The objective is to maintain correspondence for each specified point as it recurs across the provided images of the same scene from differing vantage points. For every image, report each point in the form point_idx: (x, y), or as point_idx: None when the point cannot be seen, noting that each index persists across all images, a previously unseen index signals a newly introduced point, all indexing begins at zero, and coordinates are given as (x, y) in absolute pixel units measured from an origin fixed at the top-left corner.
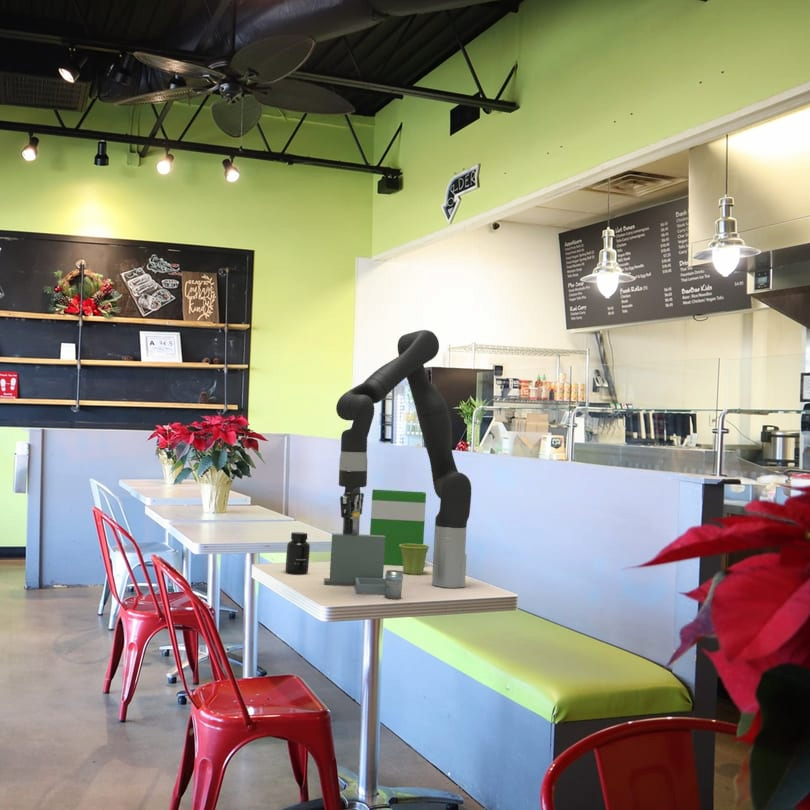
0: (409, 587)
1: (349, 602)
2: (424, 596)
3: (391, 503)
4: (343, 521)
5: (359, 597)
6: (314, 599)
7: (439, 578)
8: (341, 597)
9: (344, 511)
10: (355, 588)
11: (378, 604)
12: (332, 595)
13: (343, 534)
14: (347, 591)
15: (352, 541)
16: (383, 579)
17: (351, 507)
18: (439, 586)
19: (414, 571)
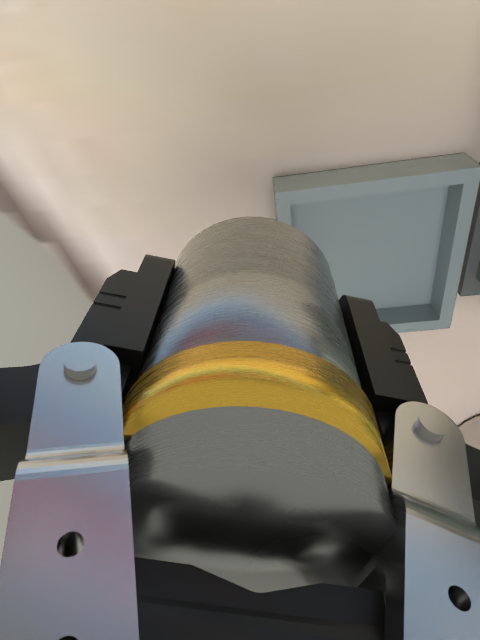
0: (455, 351)
1: (68, 164)
2: None
3: None
4: (201, 305)
5: (196, 196)
6: None
7: (474, 444)
8: (163, 116)
9: (32, 449)
10: (384, 164)
11: (91, 271)
12: (196, 61)
13: (203, 231)
14: (326, 129)
15: None
16: (443, 291)
17: (371, 566)
18: (463, 424)
19: None
